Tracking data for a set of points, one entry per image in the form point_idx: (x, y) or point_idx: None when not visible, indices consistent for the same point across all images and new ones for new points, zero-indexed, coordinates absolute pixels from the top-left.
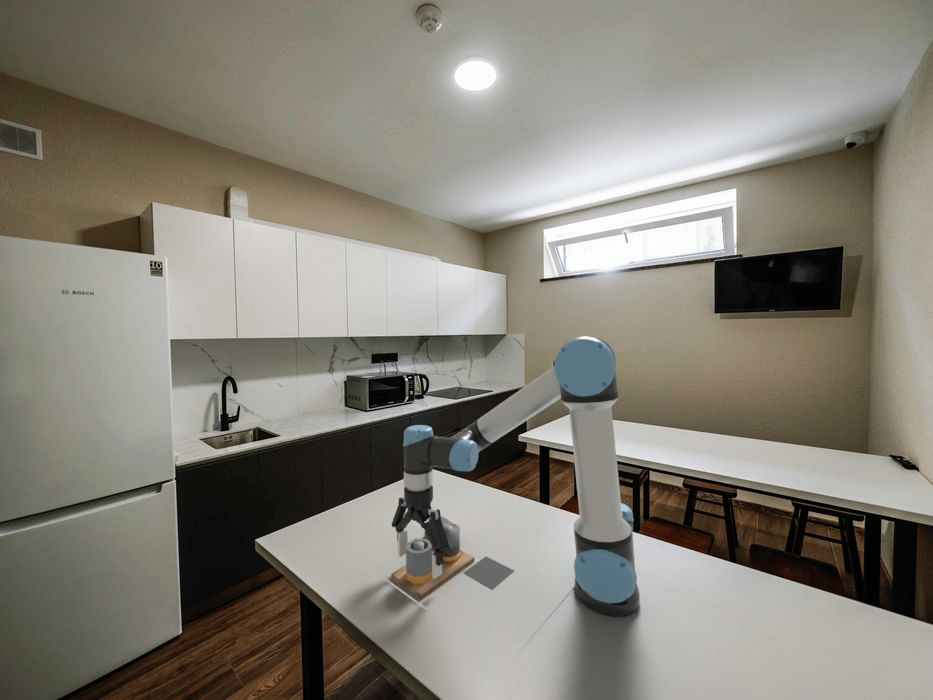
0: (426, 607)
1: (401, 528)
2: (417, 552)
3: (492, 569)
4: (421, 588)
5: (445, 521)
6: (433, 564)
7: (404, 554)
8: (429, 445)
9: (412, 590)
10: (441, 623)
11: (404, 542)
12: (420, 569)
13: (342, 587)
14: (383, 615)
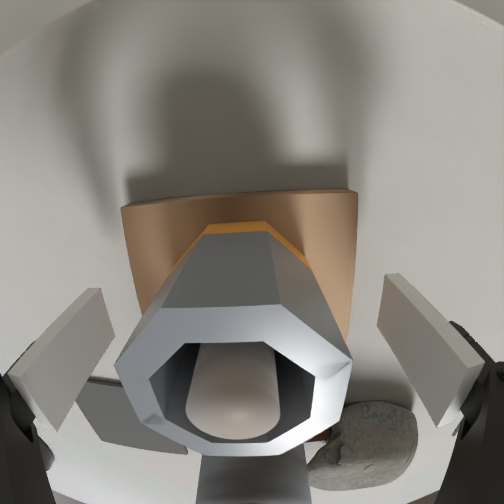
0: (94, 196)
1: (479, 408)
2: (144, 340)
3: (129, 430)
4: (153, 232)
5: (359, 485)
6: (50, 328)
7: (380, 306)
8: None
9: (185, 199)
10: (25, 194)
11: (410, 350)
12: (165, 282)
13: (434, 40)
14: (176, 42)
